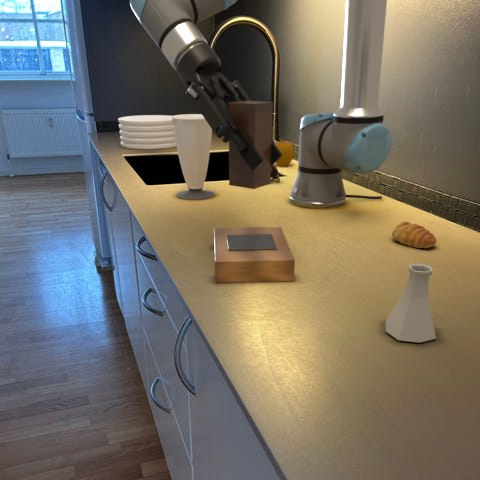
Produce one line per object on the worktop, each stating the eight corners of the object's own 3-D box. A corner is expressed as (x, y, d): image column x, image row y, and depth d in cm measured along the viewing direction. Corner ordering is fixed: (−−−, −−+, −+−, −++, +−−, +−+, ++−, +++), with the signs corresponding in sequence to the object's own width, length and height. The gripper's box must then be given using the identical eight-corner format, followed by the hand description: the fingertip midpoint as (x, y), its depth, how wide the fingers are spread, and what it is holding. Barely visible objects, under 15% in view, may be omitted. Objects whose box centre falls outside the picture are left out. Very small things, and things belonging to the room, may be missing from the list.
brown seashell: (282, 186, 162) (270, 164, 157) (255, 198, 165) (243, 177, 160) (282, 169, 170) (271, 148, 166) (257, 181, 174) (246, 160, 169)
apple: (272, 163, 195) (272, 138, 191) (294, 163, 194) (295, 139, 190) (270, 167, 188) (270, 142, 184) (293, 167, 187) (294, 142, 183)
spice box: (229, 185, 94) (228, 102, 87) (246, 180, 98) (246, 100, 91) (254, 189, 91) (255, 104, 84) (270, 183, 95) (272, 102, 88)
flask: (377, 321, 77) (386, 259, 73) (423, 319, 78) (435, 257, 73) (394, 345, 71) (404, 278, 66) (444, 343, 71) (458, 276, 67)
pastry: (443, 246, 108) (446, 229, 106) (421, 252, 105) (424, 234, 103) (409, 235, 115) (411, 218, 113) (387, 240, 112) (389, 223, 110)
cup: (201, 202, 142) (198, 119, 132) (168, 197, 147) (162, 116, 137) (222, 193, 151) (221, 115, 141) (190, 189, 156) (187, 113, 146)
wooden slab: (279, 245, 109) (280, 225, 107) (293, 281, 91) (294, 259, 90) (214, 246, 109) (214, 227, 107) (215, 282, 91) (215, 260, 89)
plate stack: (111, 148, 229) (108, 120, 223) (133, 139, 253) (131, 114, 248) (171, 149, 224) (170, 121, 219) (188, 140, 249) (186, 115, 244)
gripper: (212, 73, 101) (281, 168, 100) (146, 75, 87) (224, 185, 86) (234, 42, 96) (306, 142, 95) (167, 39, 82) (250, 155, 81)
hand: (267, 162), depth 90 cm, fingers closed on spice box, 5 cm apart
